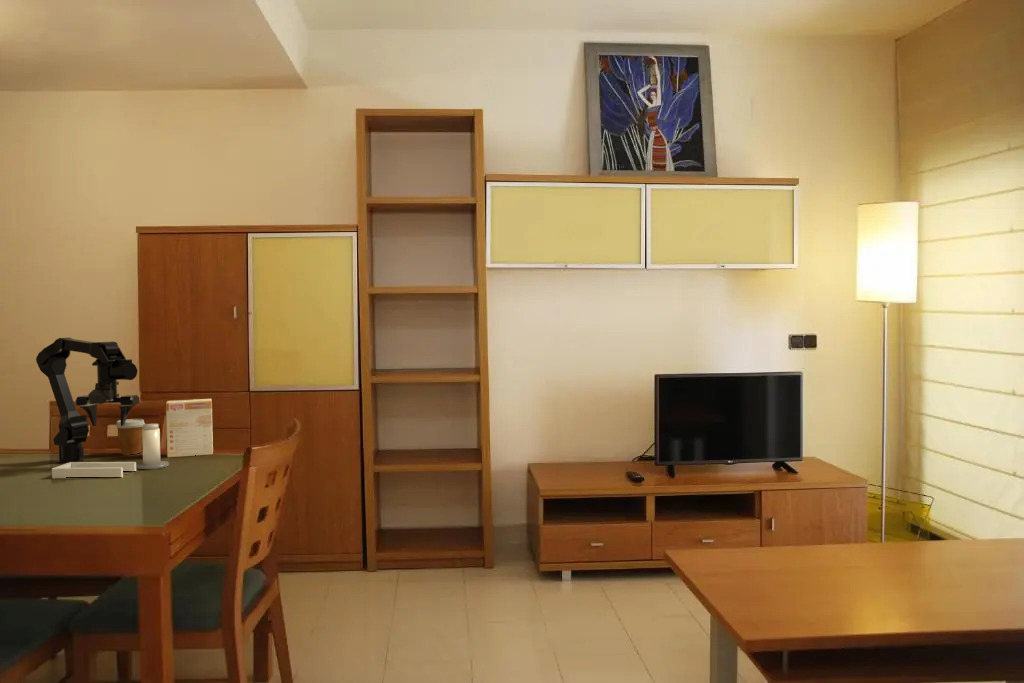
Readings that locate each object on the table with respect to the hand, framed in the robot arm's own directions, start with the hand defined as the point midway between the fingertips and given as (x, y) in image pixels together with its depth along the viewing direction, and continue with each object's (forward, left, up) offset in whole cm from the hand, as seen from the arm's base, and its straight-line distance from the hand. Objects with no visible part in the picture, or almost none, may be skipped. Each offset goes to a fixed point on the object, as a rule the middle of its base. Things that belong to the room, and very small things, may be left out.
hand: (108, 426), depth 266 cm
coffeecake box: (+20, +18, -13) cm, 30 cm away
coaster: (+16, -4, -13) cm, 21 cm away
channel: (+4, -16, -13) cm, 21 cm away
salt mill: (+16, -4, -12) cm, 20 cm away
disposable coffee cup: (-2, +20, -13) cm, 24 cm away
